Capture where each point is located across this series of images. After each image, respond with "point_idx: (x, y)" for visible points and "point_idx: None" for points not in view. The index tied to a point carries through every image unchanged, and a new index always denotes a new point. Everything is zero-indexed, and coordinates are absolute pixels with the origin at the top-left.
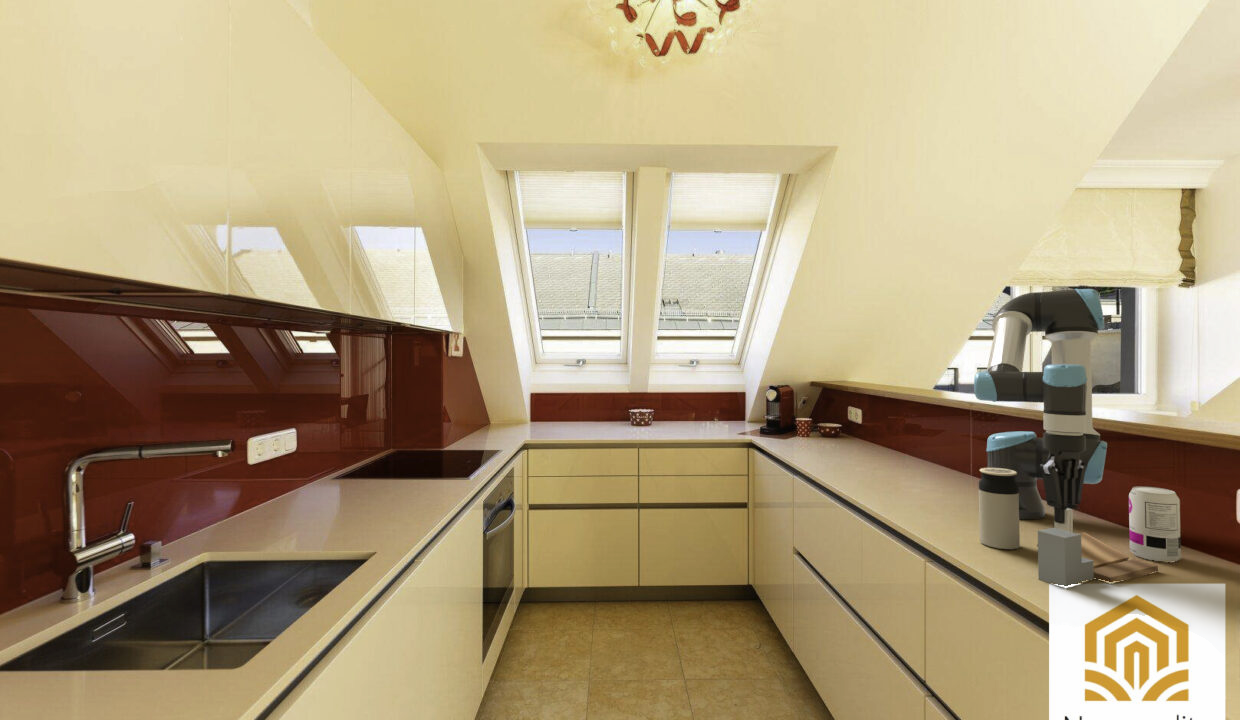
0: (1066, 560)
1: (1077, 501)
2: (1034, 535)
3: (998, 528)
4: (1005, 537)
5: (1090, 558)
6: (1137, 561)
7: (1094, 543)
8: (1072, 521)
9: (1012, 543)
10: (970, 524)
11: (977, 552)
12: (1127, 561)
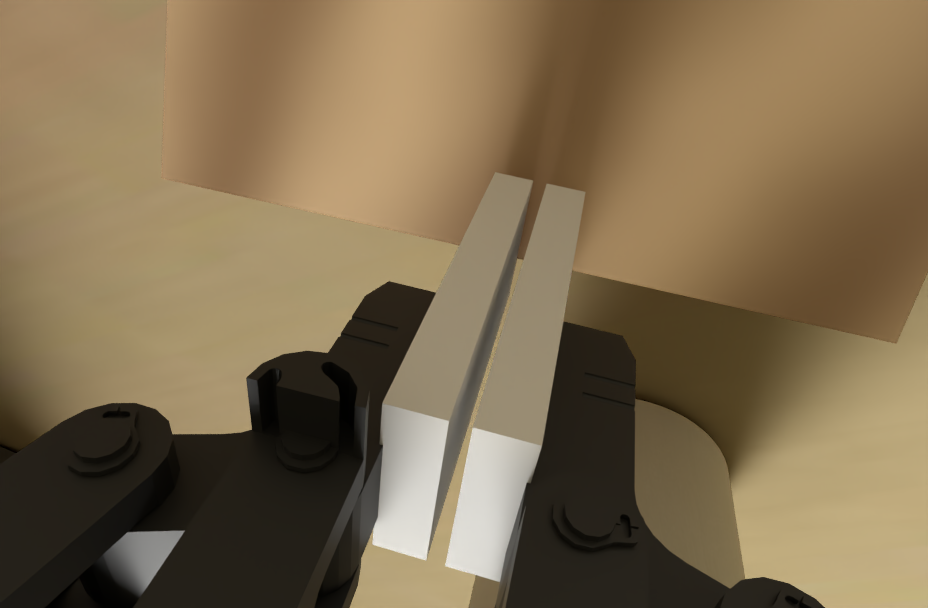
0: None
1: (132, 477)
2: (245, 394)
3: None
4: (718, 503)
5: None
6: None
7: (282, 27)
8: (451, 275)
9: (675, 441)
10: (372, 593)
11: (902, 512)
12: None
